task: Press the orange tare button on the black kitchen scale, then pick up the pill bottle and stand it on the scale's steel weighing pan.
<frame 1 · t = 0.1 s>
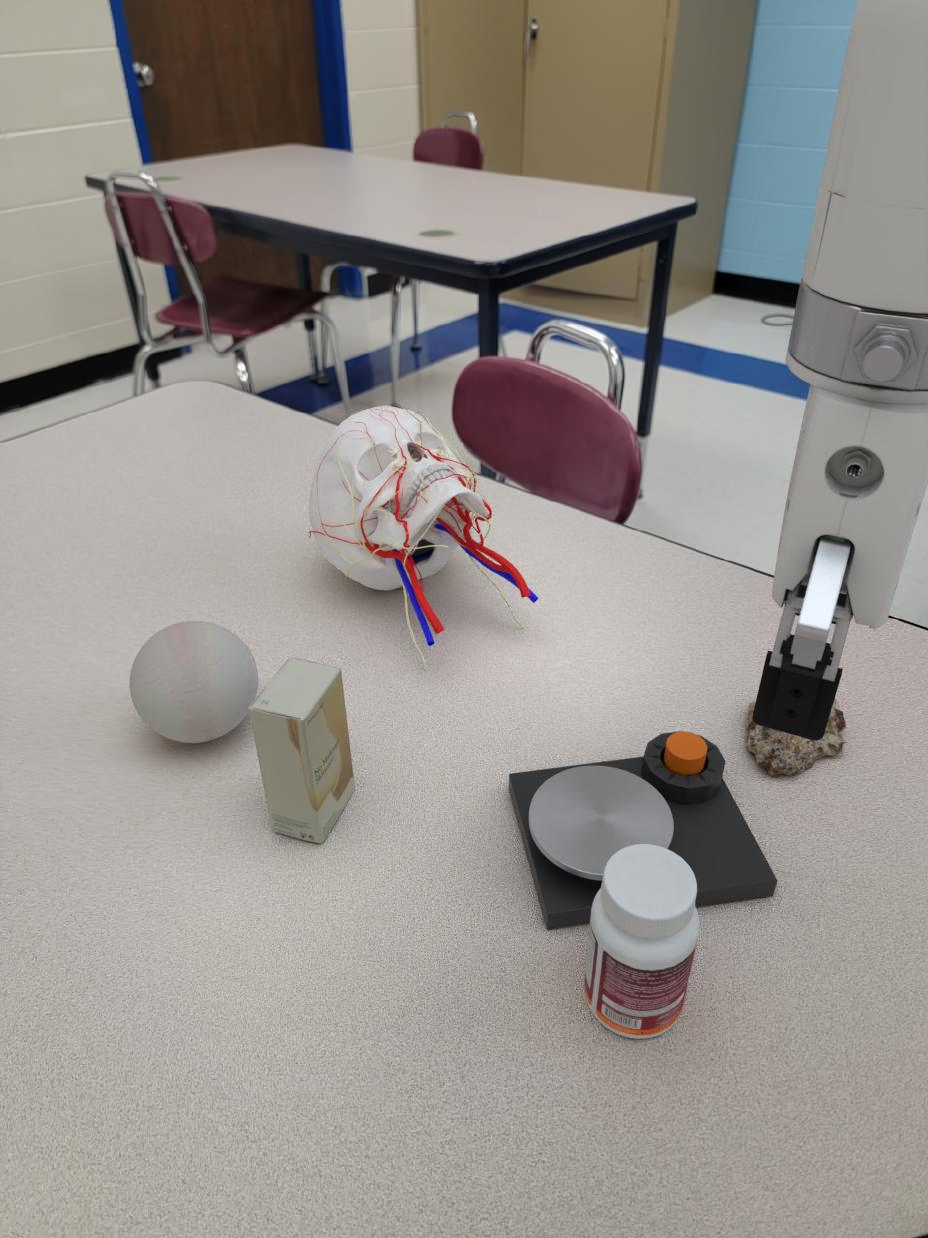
hand: (802, 668, 46), 23 cm above the table, tool pointing down, fingers open, 9 cm apart
scale: (632, 839, 66), on the table
tare button: (685, 753, 68), point 4 cm above the table, slide at 0.1 cm
anatomical skull model: (417, 599, 92), on the table
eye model: (206, 728, 77), on the table
weighing pan: (600, 822, 63), resting on scale
cosmetic box: (315, 810, 69), on the table
pill bottle: (632, 997, 56), on the table
mineral rock: (789, 740, 75), on the table
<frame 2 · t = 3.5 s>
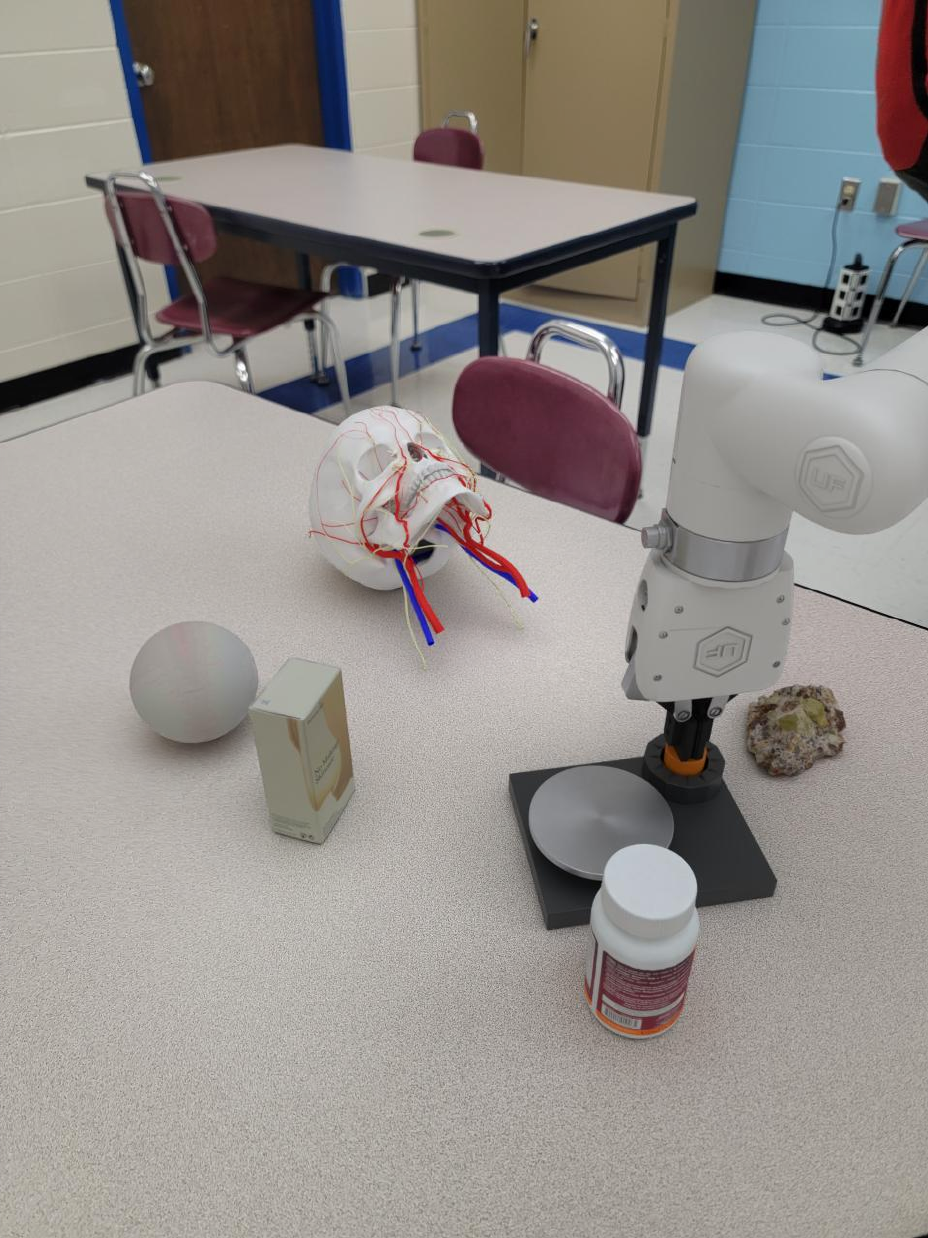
hand: (684, 747, 68), 5 cm above the table, tool pointing down, fingers closed
tare button: (684, 757, 68), point 4 cm above the table, slide at -0.2 cm, touching gripper
everything else where it was.
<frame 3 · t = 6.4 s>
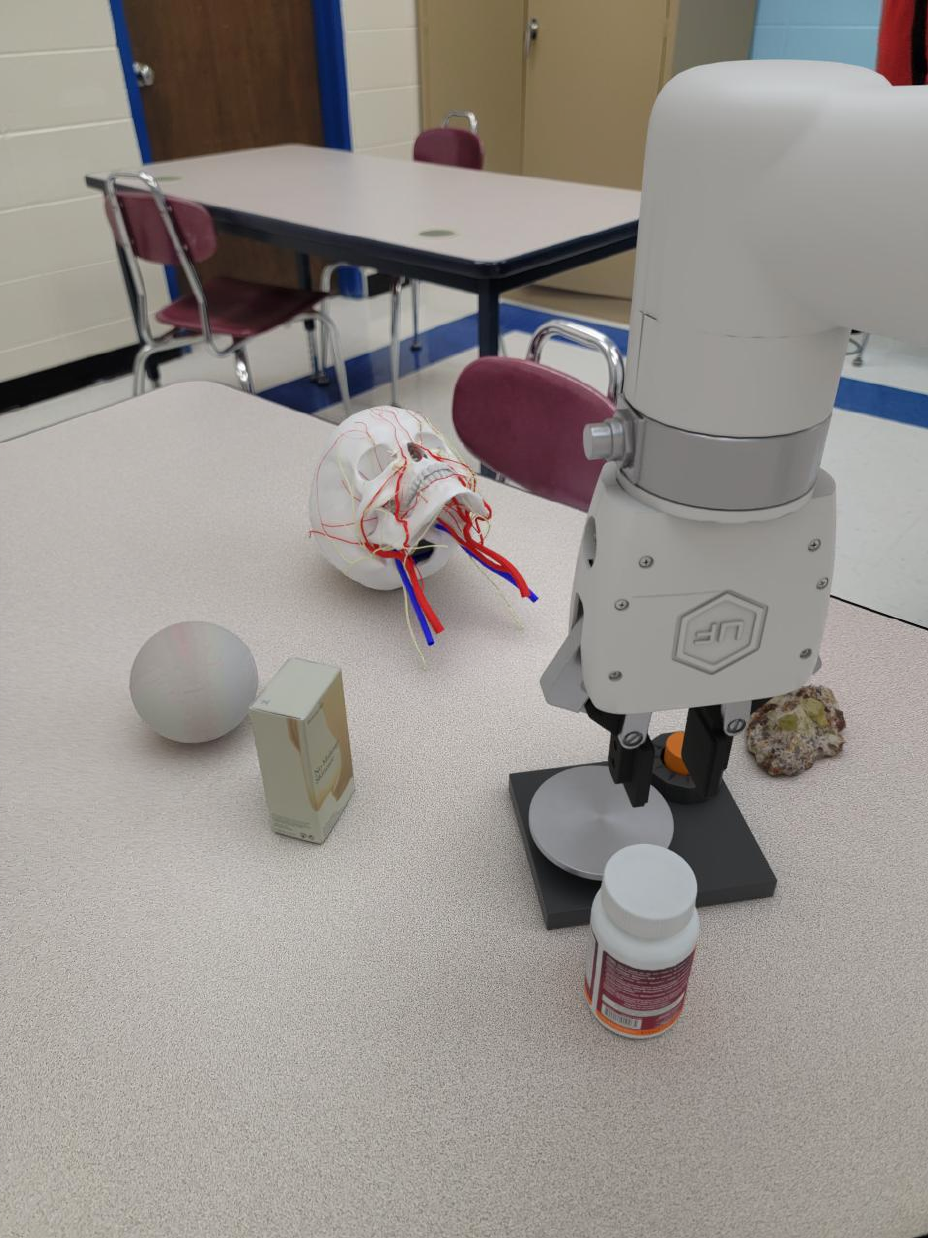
hand: (664, 779, 45), 19 cm above the table, tool pointing down, fingers closed
tare button: (685, 753, 68), point 4 cm above the table, slide at 0.1 cm
everything else where it was.
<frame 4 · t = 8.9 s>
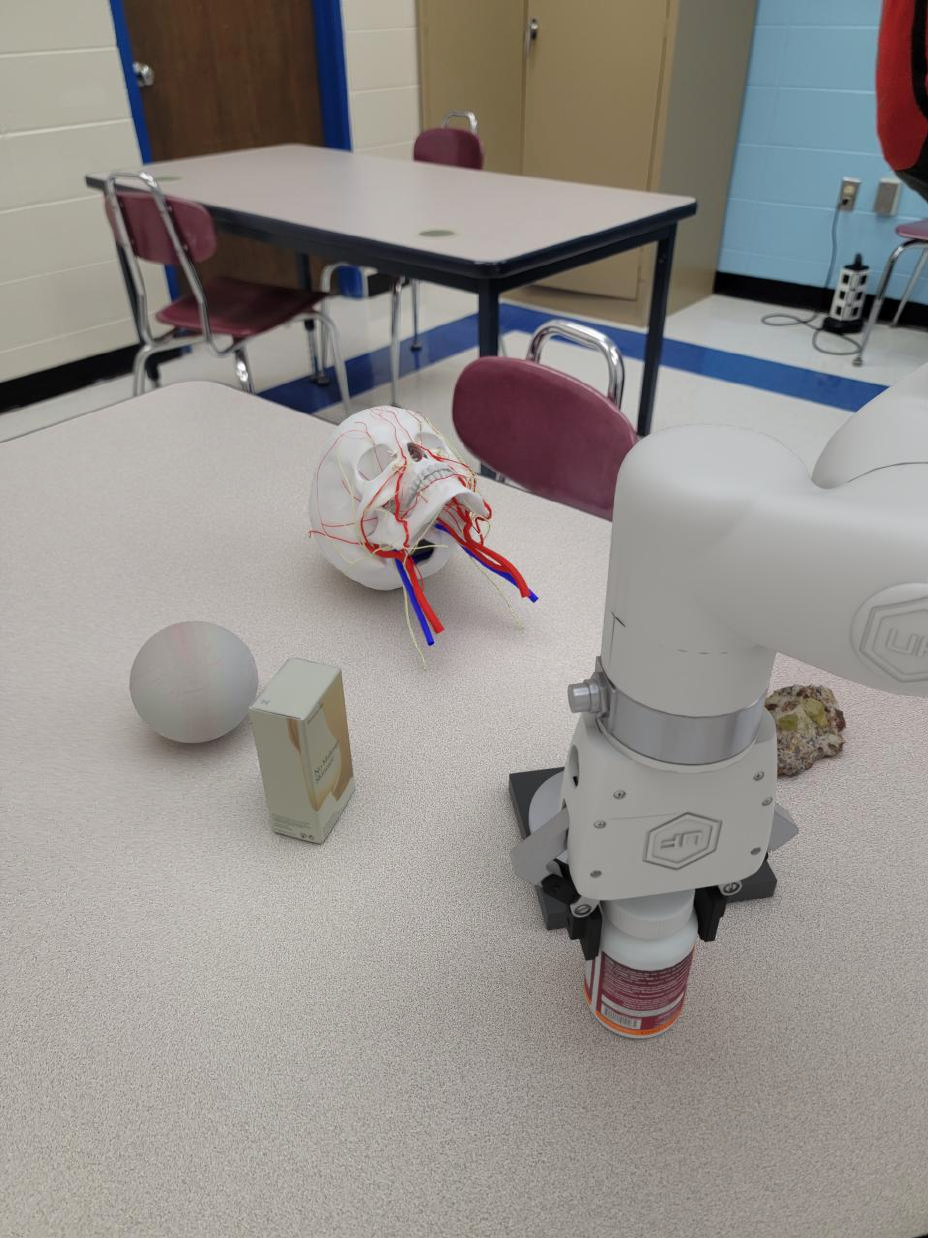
hand: (642, 927, 52), 7 cm above the table, tool pointing down, fingers closed on pill bottle, 6 cm apart
pill bottle: (632, 997, 56), on the table, touching gripper
everything else where it was.
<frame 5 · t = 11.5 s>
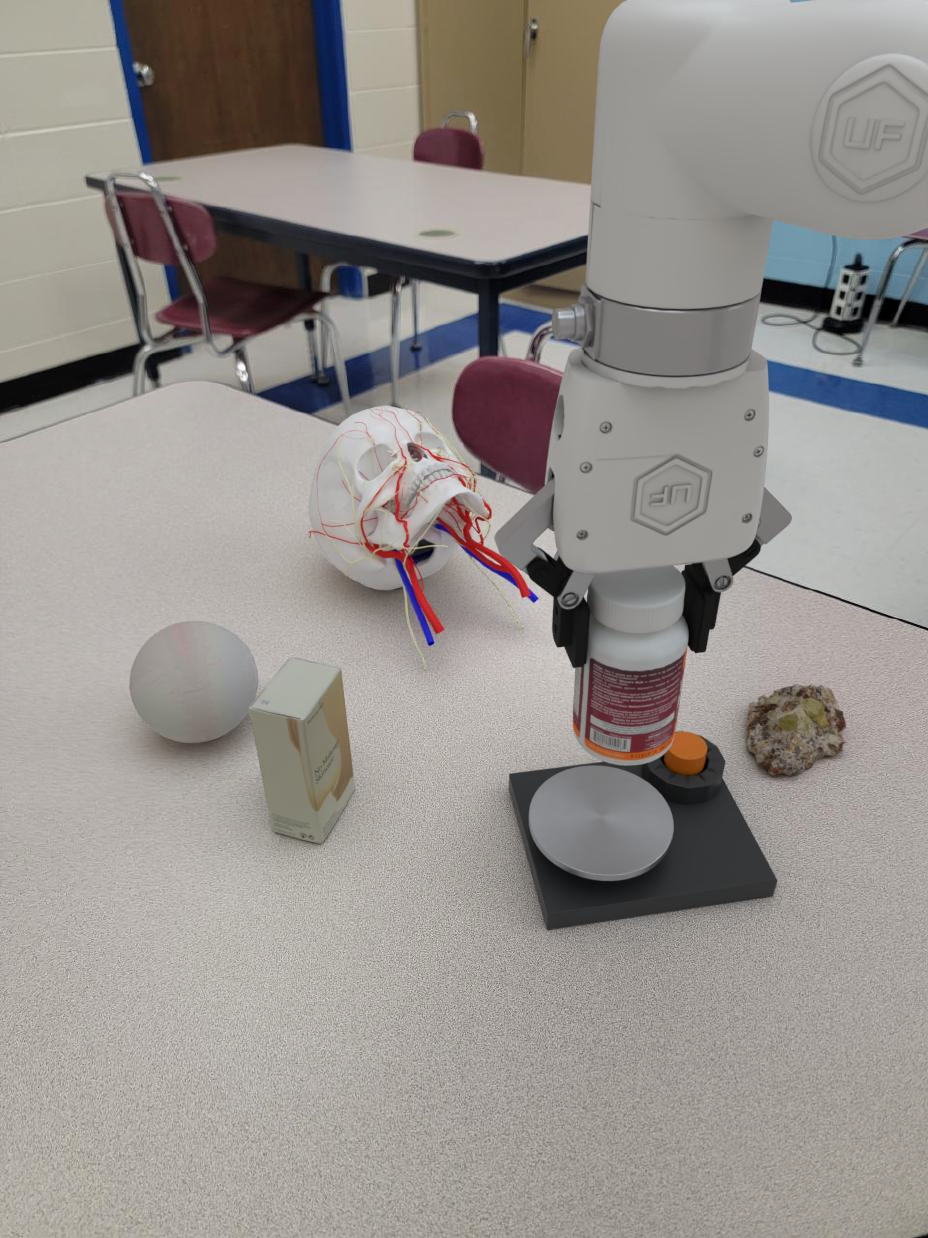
hand: (631, 643, 51), 21 cm above the table, tool pointing down, fingers closed on pill bottle, 6 cm apart
pill bottle: (621, 736, 55), point 14 cm above the table, touching gripper
everything else where it was.
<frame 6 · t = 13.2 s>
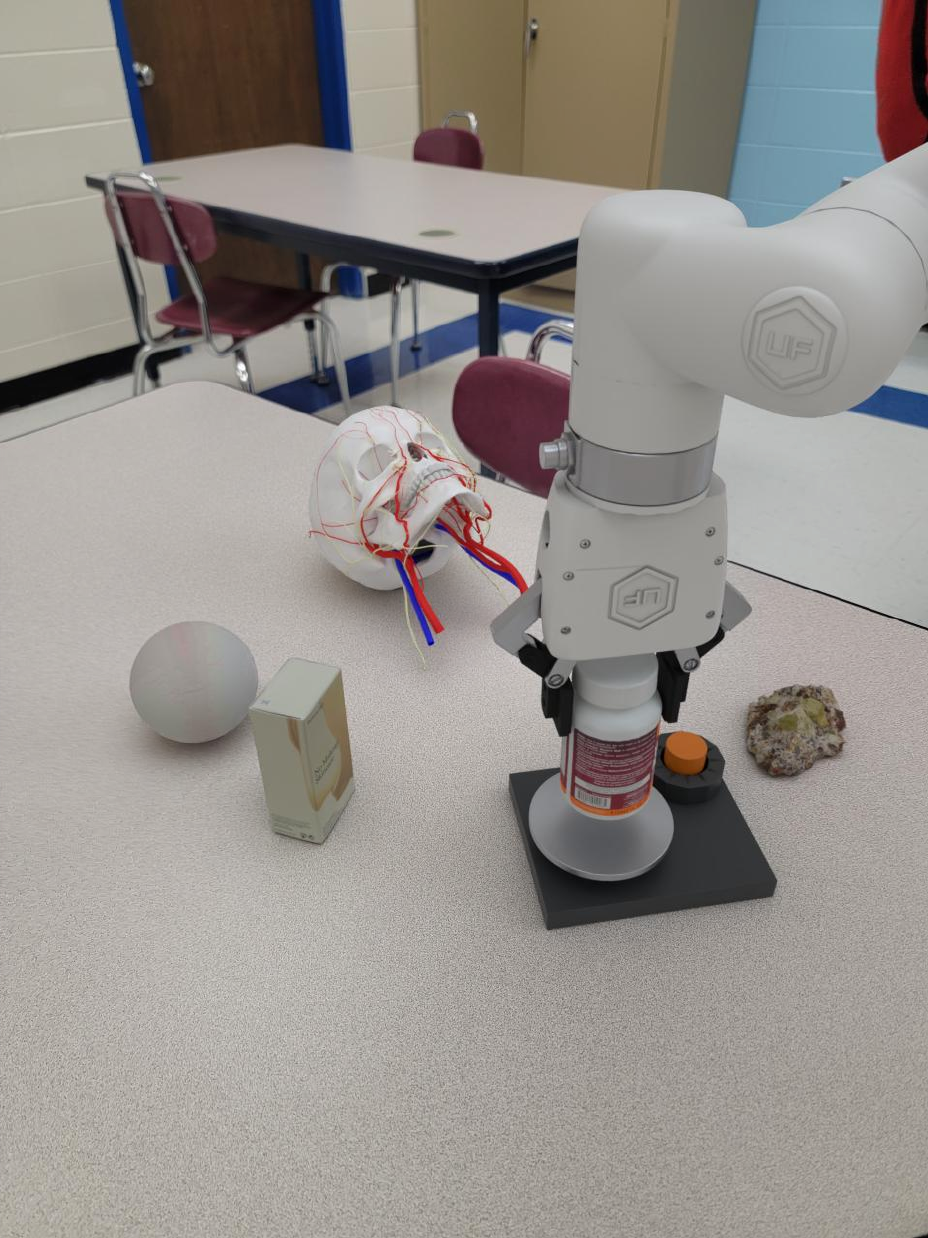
hand: (611, 713, 57), 14 cm above the table, tool pointing down, fingers closed on pill bottle, 6 cm apart
pill bottle: (604, 791, 61), point 7 cm above the table, touching gripper
everything else where it was.
when the fingers open (11 cm above the table, at t = 14.4 s): pill bottle stays where it is, resting on weighing pan.
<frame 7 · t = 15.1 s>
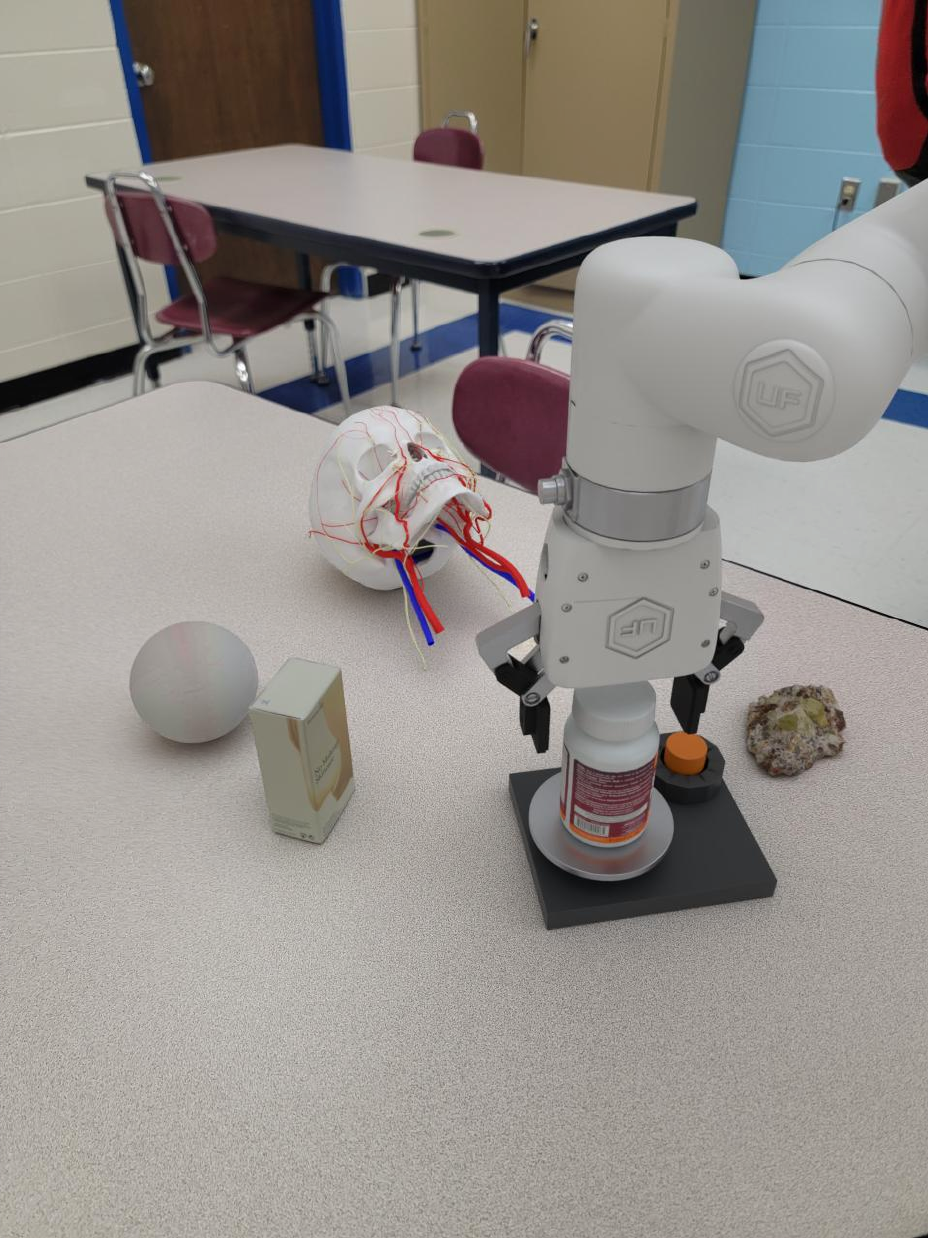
hand: (610, 729, 58), 12 cm above the table, tool pointing down, fingers open, 9 cm apart
pill bottle: (602, 818, 63), point 4 cm above the table, touching weighing pan
everything else where it was.
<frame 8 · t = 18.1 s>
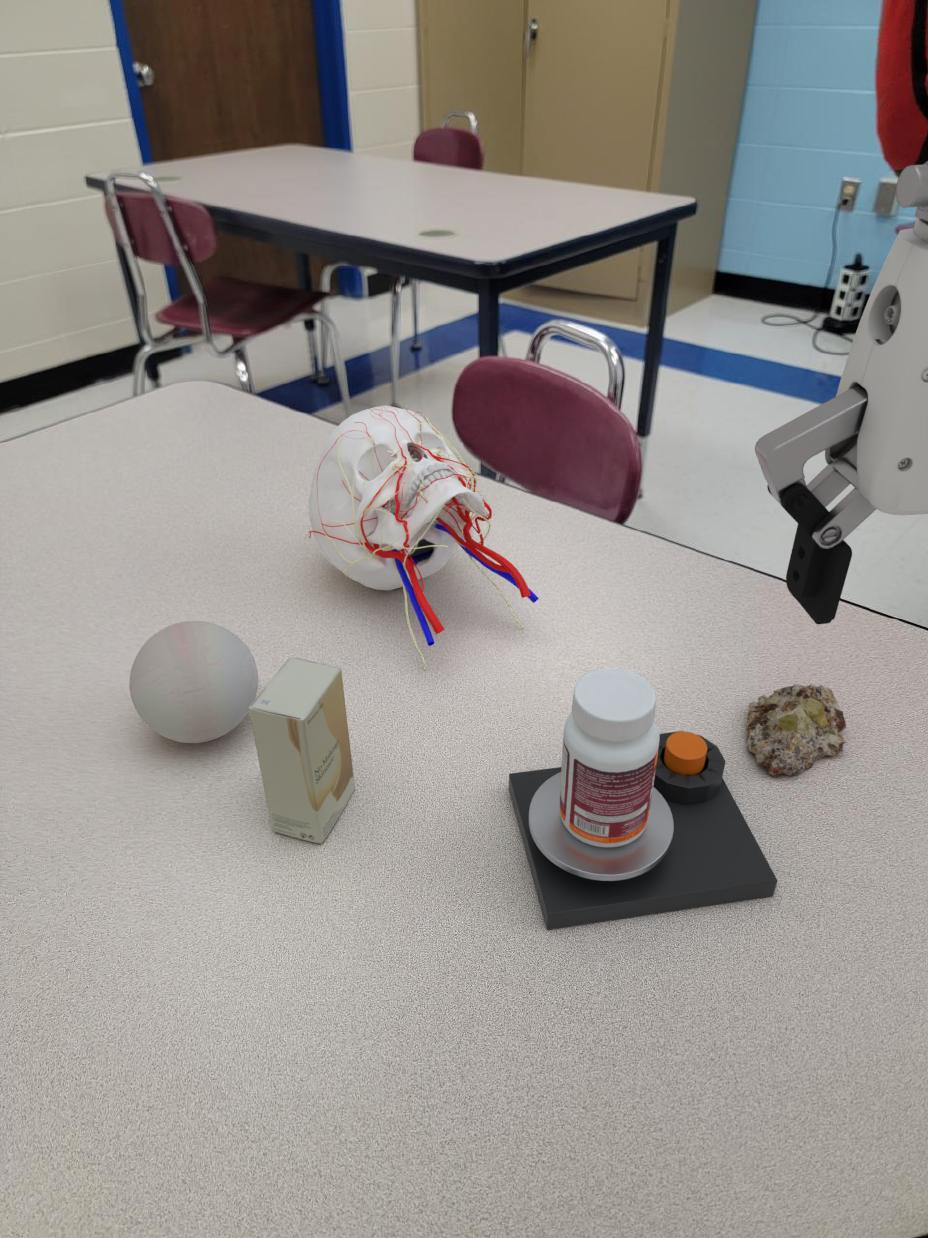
hand: (907, 595, 42), 28 cm above the table, tool pointing down, fingers open, 9 cm apart
nothing on the table moved.
at the end: tare button pushed in 1.1 cm at the most during the clip, back to where it started at the end; pill bottle inside the target area on the scale (0.1 cm from its centre), point 3.9 cm above the scale's base; pill bottle tilted 0° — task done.
